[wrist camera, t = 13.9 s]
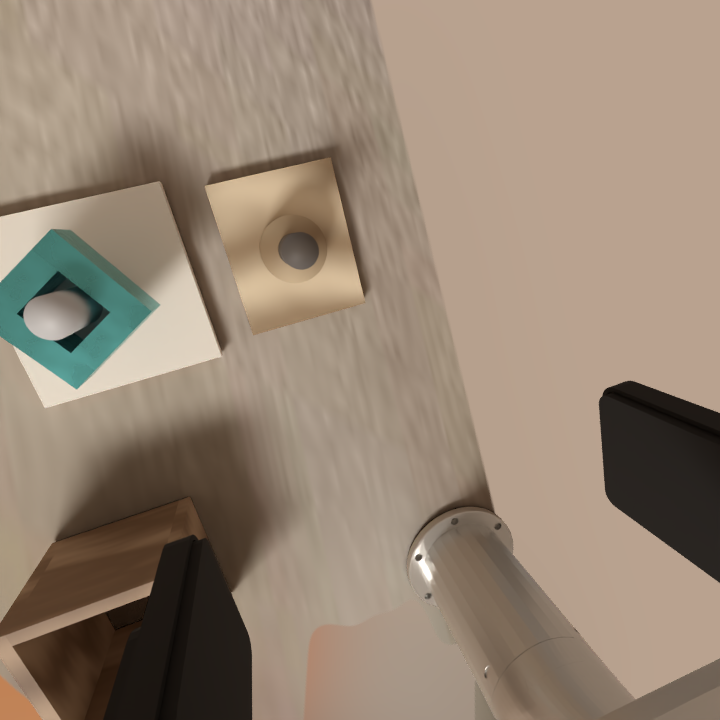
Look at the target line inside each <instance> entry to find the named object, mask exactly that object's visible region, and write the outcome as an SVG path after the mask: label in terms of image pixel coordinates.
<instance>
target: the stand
mask: <svg viewBox="0 0 720 720" xmlns="http://www.w3.org/2000/svg"><path fill="white" fill-rule="evenodd" d="M204 187H205V190H206V193H207V196H208V199H209V202H210V205H211V208H212V211H213V214H214V217H215V220H216V223H217V226H218V229H219V232H220V235H221V238H222V241H223V244H224V247H225V251H226V254H227V257H228V260H229V263H230V266H231V269H232V272H233V275H234V278H235V281H236V284H237V287H238V290H239V293H240V296H241V299H242V302H243V305H244V308H245V311H246V314H247V318H248V321H249V324H250V327H251V330H252V333H253V335H256V334H259V333H262V332H266V331H269V330H273V329H276V328H280V327H283V326H287V325H290V324H294V323H297V322H301V321H304V320H308V319H311V318H315V317H318V316H322V315H325V314H328V313H332V312H335V311H339V310H342V309H346V308H349V307H353V306H356V305H360V304H363V303H365V300H364V296H363V291H362V287H361V283H360V279H359V275H358V270H357V266H356V262H355V258H354V254H353V249H352V245H351V241H350V237H349V233H348V228H347V224H346V220H345V216H344V212H343V207H342V203H341V199H340V195H339V191H338V186H337V182H336V178H335V174H334V169H333V165H332V161H331V157H329V158H325V159H320V160H316V161H311V162H307V163H303V164H298V165H294V166H290V167H285V168H281V169H277V170H272V171H268V172H263V173H259V174H255V175H250V176H246V177H242V178H237V179H233V180H229V181H224V182H220V183H215V184H211V185H207V186H204Z"/></svg>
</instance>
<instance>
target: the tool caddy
mask: <svg viewBox="0 0 720 720" xmlns="http://www.w3.org/2000/svg"><path fill="white" fill-rule="evenodd" d="M190 535H195V536H196V537H197V538H198V540H200V539H203V538H206V539H207V540H208V538H207V535H206V533H205V531H204V528H203V526H202V524H201V521H200V519H199V517H198V514H197V512H196V510H195V507H194V505H193V503H192V500H191V498H190V497H187V498H184V499H181V500H178V501H175V502H173V503H170V504H167V505H164V506H161V507H158V508H155V509H152V510H149V511H146V512H143V513H140V514H137V515H134V516H131V517H128V518H125V519H122V520H120V521H117V522H114V523H111V524H108V525H105V526H102V527H99V528H96V529H93V530H90V531H87V532H84V533H81V534H78V535H75V536H72V537H69V538H66V539H64V540H61V541H58V542H55V543H52V544H51V546H50V548H49V549H48V551H47V552H46V554H45V555H44V557H43V558H42V560H41V561H40V563H39V564H38V566H37V568H36V569H35V571H34V572H33V574H32V575H31V577H30V578H29V580H28V581H27V583H26V585H25V586H24V588H23V589H22V591H21V592H20V594H19V595H18V597H17V598H16V600H15V601H14V603H13V605H12V606H11V608H10V609H9V611H8V612H7V614H6V615H5V617H4V618H3V620H2V622H1V623H0V659H1V660H2V662H3V663H4V664H5V666H6V667H7V669H8V670H9V672H10V673H11V675H12V676H13V678H14V679H15V680H16V682H17V683H18V685H19V686H20V688H21V689H22V691H23V692H24V694H25V695H26V696H27V698H28V699H29V701H30V702H31V704H32V705H33V707H34V708H35V710H36V711H37V712H38V714H39V715H40V717H41V718H42V720H103V718H104V715H105V712H106V708H107V705H108V702H109V698H110V695H111V692H112V689H113V685H114V682H115V679H116V675H117V672H118V669H119V666H120V662H121V659H122V656H123V653H124V649H125V646H126V643H127V640H128V638H129V635H130V633H131V632H132V631H133V630H134V629H136V628H139V627H141V625H142V621H143V620H142V621H139V622H136V623H134V624H131V625H128V626H126V627H123V628H120V629H118V630H115V629H114V628H113V626H112V624H111V622H110V621H109V619H108V617H107V615H106V613H105V612H106V611H109V610H111V609H114V608H117V607H120V606H122V605H125V604H128V603H130V602H133V601H136V600H139V599H141V598H144V597H147V596H149V595H150V593H151V589H152V585H153V582H154V578H155V575H156V571H157V568H158V564H159V560H160V557H161V553H162V550H163V547H164V545H165V544H167V543H170V542H173V541H176V540H179V539H181V538H184V537H187V536H190ZM208 541H209V540H208ZM209 543H210V542H209ZM210 546H211V545H210ZM211 548H212V547H211ZM212 550H213V549H212ZM213 553H214V552H213ZM214 555H215V554H214ZM215 557H216V556H215ZM216 560H217V559H216ZM217 562H218V561H217ZM218 564H219V563H218ZM219 567H220V566H219ZM220 569H221V568H220ZM221 571H222V570H221ZM222 574H223V573H222ZM223 576H224V575H223ZM224 578H225V577H224ZM225 581H226V580H225ZM226 583H227V582H226ZM227 585H228V584H227ZM228 588H229V587H228ZM229 590H230V589H229ZM230 592H231V591H230ZM231 595H232V594H231Z"/></svg>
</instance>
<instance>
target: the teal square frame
mask: <svg viewBox="0 0 720 720" xmlns="http://www.w3.org/2000/svg"><path fill="white" fill-rule="evenodd" d="M66 278H68V279H69V280H70V281H71V282H73V283H74V284H75V285H76V286H78V287H79V288H80V289H82V290H83V291H84V292H85V293H87V294H88V295H89V296H90V297H92V298H93V299H94V300H95V301H97V302H98V303H99V304H101V305H102V306H103V307H104V308H106V309H107V310H108V311H109V312H110V313H109V314H108V315H107V316H106V317H105V318H104V319H103V320H102V321H101V322H100V324H99V325H98V326H97V327H96V328H95V329H94V330H93V331H92V332H91V333H90V334H89V335H88V336H87V337H86V338H85V339H84V340H83V339H82V338H80V337H79V336H78V335H76V334H75V333H73V334H71V335H69V336H67V337H65V338H63V339H60V340H46V339H42V338H40V337H38V336H36V335H34V334H33V333H32V332H31V331H30V330H29V329H28V327H27V326H26V324H25V322H24V316H23V314H24V309H25V307H26V305H27V304H28V302H29V301H31V300H32V299H33V298H35V297H38V296H42V295H45V294H49V293H53V292H54V291H55V290H56V288H57V287H58V286H59V285H60V284H61V283H62V282H63V281H64V280H65V279H66ZM159 306H160V304H159V303H158V302H157V301H155V300H154V299H153V298H152V297H151V296H149V295H148V294H147V293H146V292H145V291H143V290H142V289H141V288H140V287H139V286H137V285H136V284H135V283H134V282H133V281H131V280H130V279H129V278H128V277H127V276H125V275H124V274H123V273H122V272H121V271H119V270H118V269H117V268H116V267H115V266H113V265H112V264H111V263H110V262H109V261H107V260H106V259H105V258H104V257H103V256H101V255H100V254H99V253H98V252H97V251H95V250H94V249H93V248H92V247H91V246H89V245H88V244H87V243H86V242H85V241H83V240H82V239H81V238H80V237H79V236H77V235H76V234H75V233H74V232H73V231H71V230H64V229H50V231H49V232H48V233H47V234H46V235H45V236H44V237H43V238H42V239H41V240H40V241H39V242H38V243H37V244H36V245H35V246H34V247H33V248H32V249H31V250H30V252H29V253H28V254H27V255H26V256H25V257H24V258H23V259H22V260H21V261H20V262H19V263H18V264H17V265H16V266H15V267H14V268H13V269H12V270H11V271H10V273H9V274H8V275H7V276H6V277H5V278H4V279H3V280H2V281H1V282H0V336H1V337H2V338H3V339H5V340H6V341H8V342H9V343H11V344H12V345H13V346H15V347H16V348H18V349H19V350H21V351H22V352H23V353H25V354H26V355H28V356H29V357H31V358H32V359H34V360H35V361H36V362H38V363H39V364H41V365H42V366H44V367H45V368H46V369H48V370H49V371H51V372H52V373H54V374H55V375H56V376H58V377H59V378H61V379H62V380H64V381H65V382H67V383H68V384H69V385H71V386H72V387H74V388H75V389H78V388H79V387H80V386H81V385H82V384H84V383H85V382H86V381H87V380H88V379H89V378H91V377H92V376H93V375H94V374H95V373H96V372H97V371H98V370H99V368H100V367H101V366H102V365H103V364H104V363H105V362H106V361H107V360H108V359H109V358H110V357H111V356H112V355H113V354H114V353H115V352H116V351H117V350H118V349H119V348H120V347H121V346H122V345H123V344H124V343H125V341H126V340H127V339H128V338H129V337H130V336H131V335H132V334H133V333H134V332H135V331H136V330H137V329H138V328H139V327H140V326H141V325H142V324H143V323H144V322H145V321H146V320H147V319H148V318H149V317H150V316H151V315H152V313H153V312H154V311H155V310H156V309H157V308H158V307H159Z"/></svg>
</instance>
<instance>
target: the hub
mask: <svg viewBox="0 0 720 720" xmlns="http://www.w3.org/2000/svg"><path fill="white" fill-rule="evenodd" d="M50 229H64V230H71V231H73V232H74V233H75V234H76V235H77V236H79V237H80V238H81V239H82V240H83V241H85V242H86V243H87V244H88V245H89V246H91V247H92V248H93V249H94V250H95V251H97V252H98V253H99V254H100V255H101V256H103V257H104V258H105V259H106V260H107V261H109V262H110V263H111V264H112V265H113V266H115V267H116V268H117V269H118V270H119V271H121V272H122V273H123V274H124V275H125V276H127V277H128V278H129V279H130V280H131V281H133V282H134V283H135V284H136V285H137V286H139V287H140V288H141V289H142V290H143V291H145V292H146V293H147V294H148V295H149V296H151V297H152V298H153V299H154V300H155V301H157V302H158V303H159V304H160V306H159V307H158V308H157V309H156V310H155V311H154V312H153V313H152V315H151V316H150V317H149V318H148V319H147V320H146V321H145V322H144V323H143V324H142V325H141V326H140V327H139V328H138V329H137V330H136V331H135V332H134V333H133V334H132V335H131V336H130V337H129V338H128V339H127V340H126V341H125V343H124V344H123V345H122V346H121V347H120V348H119V349H118V350H117V351H116V352H115V353H114V354H113V355H112V356H111V357H110V358H109V359H108V360H107V361H106V362H105V363H104V364H103V365H102V366H101V367H100V368H99V370H98V371H97V372H96V373H95V374H94V375H93V376H92V377H91V378H89V379H88V380H87V381H86V382H85V383H84V384H82V385H81V386H80V387H79V388H78V389H75V388H74V387H72V386H71V385H69V384H68V383H67V382H65V381H64V380H62V379H61V378H59V377H58V376H56V375H55V374H54V373H52V372H51V371H49V370H48V369H46V368H45V367H44V366H42V365H41V364H39V363H38V362H36V361H35V360H34V359H32V358H31V357H29V356H28V355H26V354H25V353H23V352H22V351H21V350H19V349H18V348H16V347H15V346H13V347H14V349H15V351H16V353H17V355H18V357H19V358H20V360H21V362H22V364H23V366H24V368H25V370H26V372H27V374H28V376H29V378H30V380H31V382H32V384H33V386H34V388H35V390H36V392H37V393H38V395H39V397H40V399H41V401H42V403H43V405H44V407H45V408H47V407H51V406H54V405H58V404H61V403H64V402H68V401H71V400H75V399H78V398H82V397H85V396H88V395H92V394H95V393H99V392H102V391H105V390H109V389H112V388H116V387H119V386H123V385H126V384H129V383H133V382H136V381H140V380H143V379H147V378H150V377H153V376H157V375H160V374H164V373H167V372H170V371H174V370H177V369H181V368H184V367H188V366H191V365H194V364H198V363H201V362H205V361H208V360H211V359H215V358H218V357H222V351H221V348H220V345H219V342H218V340H217V337H216V334H215V331H214V328H213V326H212V323H211V320H210V317H209V314H208V312H207V309H206V306H205V303H204V300H203V298H202V295H201V292H200V289H199V286H198V284H197V281H196V278H195V275H194V272H193V270H192V267H191V264H190V261H189V258H188V256H187V253H186V250H185V247H184V244H183V242H182V239H181V236H180V233H179V230H178V227H177V225H176V222H175V219H174V216H173V213H172V211H171V208H170V205H169V202H168V199H167V197H166V194H165V191H164V188H163V185H162V183H161V182H160V181H158V182H153V183H149V184H144V185H140V186H135V187H131V188H126V189H122V190H117V191H113V192H108V193H104V194H100V195H95V196H91V197H86V198H82V199H77V200H73V201H68V202H64V203H59V204H55V205H50V206H46V207H41V208H37V209H32V210H28V211H24V212H19V213H15V214H10V215H6V216H1V217H0V282H1V281H2V280H3V279H4V278H5V277H6V276H7V275H8V274H9V273H10V271H11V270H12V269H13V268H14V267H15V266H16V265H17V264H18V263H19V262H20V261H21V260H22V259H23V258H24V257H25V256H26V255H27V254H28V253H29V252H30V250H31V249H32V248H33V247H34V246H35V245H36V244H37V243H38V242H39V241H40V240H41V239H42V238H43V237H44V236H45V235H46V234H47V233H48V232H49V231H50ZM109 313H110V312H109V311H108V310H107V309H106V308H104V307H103V306H102V305H101V304H99V303H98V302H97V301H95V300H94V299H93V298H92V297H90V296H89V295H88V294H87V293H85V292H84V291H83V290H82V289H80V288H79V287H78V286H76V285H75V284H74V283H73V282H71V281H70V280H69V279H68V278H66V279H65V280H64V281H63V282H62V283H61V284H60V285H59V286H58V287H57V288H56V290H55V291H54V292H53V293H49V294H45V295H42V296H38V297H35V298H33V299H32V300H31V301H29V302H28V304H27V305H26V307H25V309H24V314H23V316H24V322H25V324H26V326H27V327H28V329H29V330H30V331H31V332H32V333H33V334H34V335H36V336H38V337H40V338H42V339H46V340H60V339H63V338H65V337H67V336H69V335H71V334H73V333H75V334H76V335H78V336H79V337H80V338H82V339H83V340H84V339H85V338H86V337H87V336H88V335H89V334H90V333H91V332H92V331H93V330H94V329H95V328H96V327H97V326H98V325H99V324H100V322H101V321H102V320H103V319H104V318H105V317H106V316H107V315H108V314H109Z"/></svg>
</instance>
